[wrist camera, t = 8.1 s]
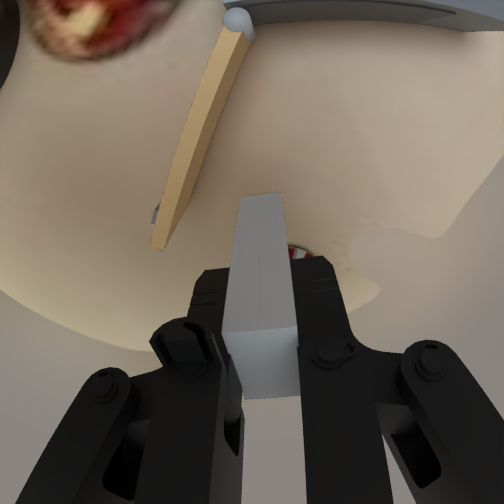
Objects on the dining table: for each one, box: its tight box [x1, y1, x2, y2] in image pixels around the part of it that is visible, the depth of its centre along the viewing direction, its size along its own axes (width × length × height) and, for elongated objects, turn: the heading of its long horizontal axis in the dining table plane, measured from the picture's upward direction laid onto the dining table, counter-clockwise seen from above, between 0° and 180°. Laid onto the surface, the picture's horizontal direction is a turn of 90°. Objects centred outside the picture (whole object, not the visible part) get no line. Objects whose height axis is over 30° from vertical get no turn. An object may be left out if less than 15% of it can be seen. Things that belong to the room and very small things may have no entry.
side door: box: [149, 7, 256, 252], centre depth 20 cm, size 16×2×8 cm, turn 158°
